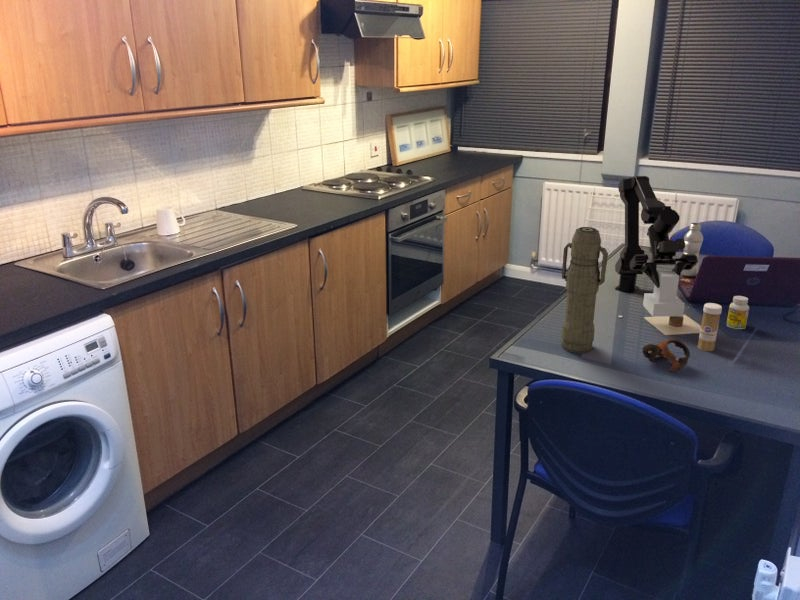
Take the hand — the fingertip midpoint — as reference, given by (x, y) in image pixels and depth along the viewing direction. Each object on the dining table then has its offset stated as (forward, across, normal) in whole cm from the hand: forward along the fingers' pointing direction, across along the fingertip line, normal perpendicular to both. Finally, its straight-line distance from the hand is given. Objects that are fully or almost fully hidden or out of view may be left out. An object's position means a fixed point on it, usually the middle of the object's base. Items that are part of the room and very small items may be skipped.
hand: (667, 287), depth 193 cm
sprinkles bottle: (+20, +7, -1) cm, 21 cm away
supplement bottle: (+9, +23, +10) cm, 27 cm away
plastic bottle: (-26, +27, +45) cm, 59 cm away
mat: (+8, +5, +11) cm, 14 cm away
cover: (+5, 0, +7) cm, 8 cm away
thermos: (+19, -29, 0) cm, 34 cm away
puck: (+8, +5, +10) cm, 14 cm away
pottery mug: (+27, -8, -7) cm, 29 cm away
